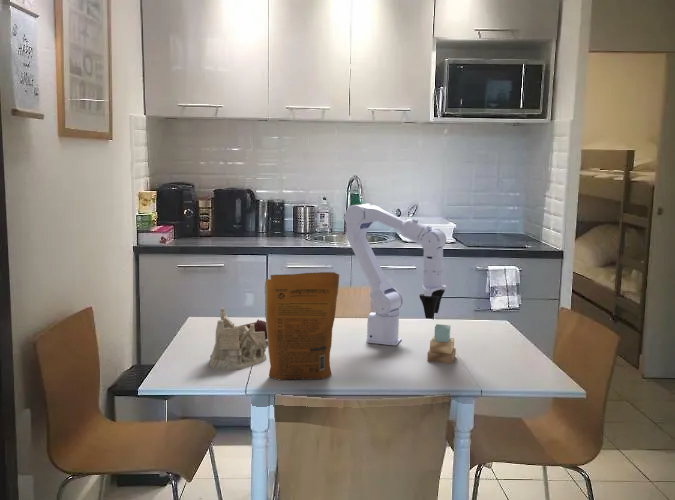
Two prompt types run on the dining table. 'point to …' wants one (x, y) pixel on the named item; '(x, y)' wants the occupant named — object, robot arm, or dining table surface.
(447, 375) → the dining table surface
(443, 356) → the tower base
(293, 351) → the pancake mix bag
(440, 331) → the teal cube
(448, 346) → the tower top
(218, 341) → the ceramic cottage
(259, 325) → the icecream
